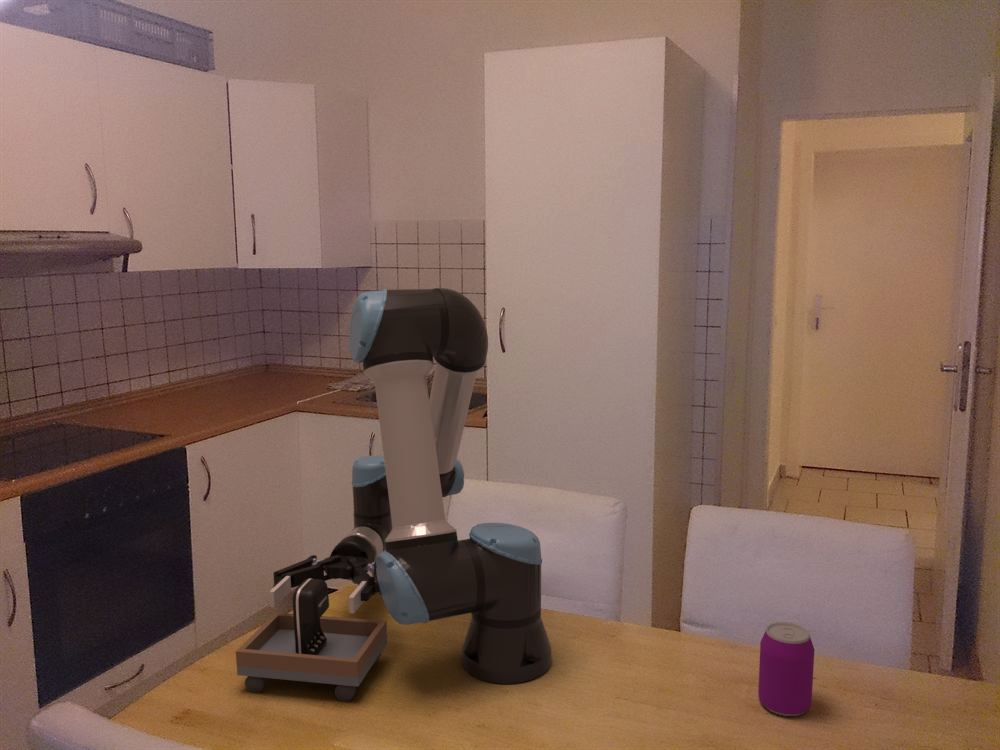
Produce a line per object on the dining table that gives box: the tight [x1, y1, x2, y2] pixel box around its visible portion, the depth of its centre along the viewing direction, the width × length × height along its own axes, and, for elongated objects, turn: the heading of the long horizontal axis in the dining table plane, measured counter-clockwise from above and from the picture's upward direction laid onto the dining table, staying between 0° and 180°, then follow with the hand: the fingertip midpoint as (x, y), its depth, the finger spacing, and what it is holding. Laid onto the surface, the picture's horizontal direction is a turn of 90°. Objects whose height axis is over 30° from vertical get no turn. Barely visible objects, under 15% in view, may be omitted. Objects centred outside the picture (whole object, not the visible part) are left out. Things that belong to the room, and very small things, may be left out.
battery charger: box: [292, 578, 330, 655], centre depth 135 cm, size 7×4×11 cm, turn 170°
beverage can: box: [757, 621, 815, 717], centre depth 126 cm, size 8×8×12 cm
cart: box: [235, 611, 388, 703], centre depth 136 cm, size 20×14×7 cm
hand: (311, 602), depth 135 cm, fingers open, 13 cm apart
